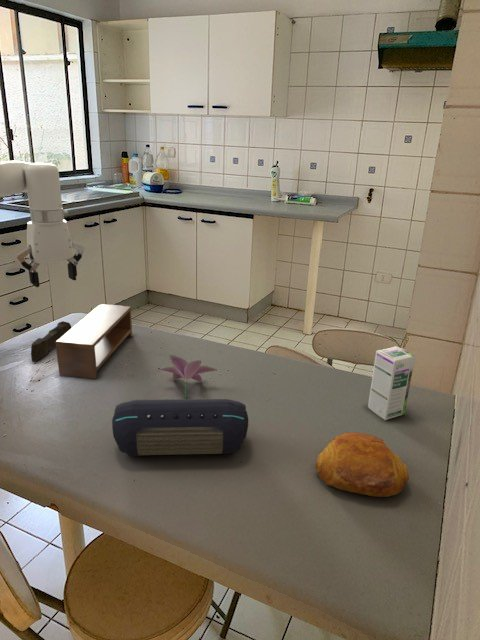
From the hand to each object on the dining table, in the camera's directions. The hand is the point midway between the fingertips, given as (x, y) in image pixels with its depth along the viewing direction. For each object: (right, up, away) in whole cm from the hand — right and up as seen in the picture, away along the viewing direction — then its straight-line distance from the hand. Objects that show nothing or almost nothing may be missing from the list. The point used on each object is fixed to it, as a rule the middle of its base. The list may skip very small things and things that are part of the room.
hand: (54, 282), depth 121 cm
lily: (+36, -26, -13) cm, 46 cm away
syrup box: (+81, -30, -18) cm, 88 cm away
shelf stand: (+11, -19, +2) cm, 22 cm away
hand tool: (-2, -17, +4) cm, 18 cm away
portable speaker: (+37, -34, -33) cm, 61 cm away
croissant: (+70, -38, -38) cm, 88 cm away
